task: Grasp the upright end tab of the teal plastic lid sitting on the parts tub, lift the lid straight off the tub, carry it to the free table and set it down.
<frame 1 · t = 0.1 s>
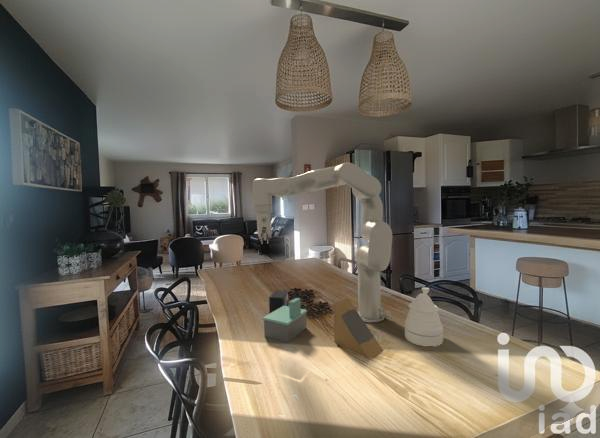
hand: (264, 251, 115), 31 cm above the table, tool pointing down, fingers open, 9 cm apart
honey pot: (423, 338, 104), on the table
sandwich container: (358, 347, 99), on the table
tub: (286, 333, 111), on the table
lid: (285, 315, 110), point 7 cm above the table, touching tub
dowel a: (290, 328, 113), point 1 cm above the table, touching tub
small box: (279, 316, 128), on the table
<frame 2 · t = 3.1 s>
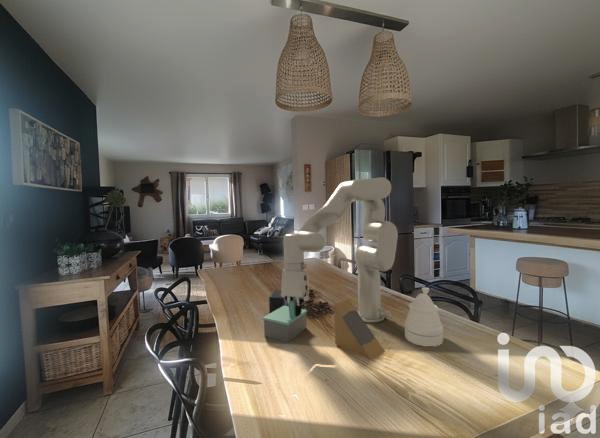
hand: (295, 313, 108), 8 cm above the table, tool pointing down, fingers closed on lid
lid: (285, 315, 110), point 7 cm above the table, touching gripper, tub
dowel a: (290, 326, 113), point 1 cm above the table, tilted 71°, touching tub
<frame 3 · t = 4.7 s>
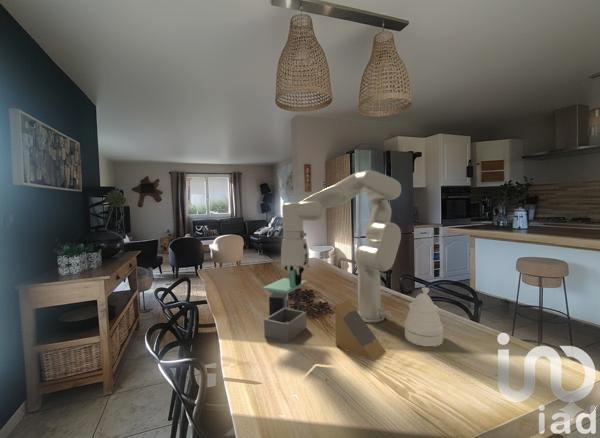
hand: (295, 283, 108), 20 cm above the table, tool pointing down, fingers closed on lid
lid: (285, 286, 110), point 19 cm above the table, touching gripper
dowel a: (290, 328, 113), point 1 cm above the table, tilted 11°, touching tub
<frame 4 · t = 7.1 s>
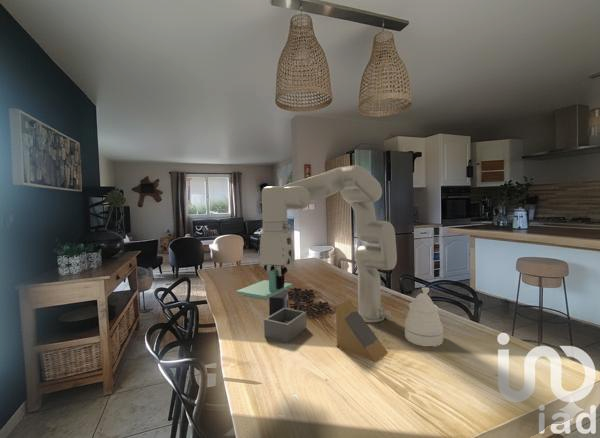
hand: (276, 287, 87), 25 cm above the table, tool pointing down, fingers closed on lid
lid: (265, 289, 89), point 23 cm above the table, touching gripper
dowel a: (290, 328, 113), point 1 cm above the table, tilted 40°, touching tub
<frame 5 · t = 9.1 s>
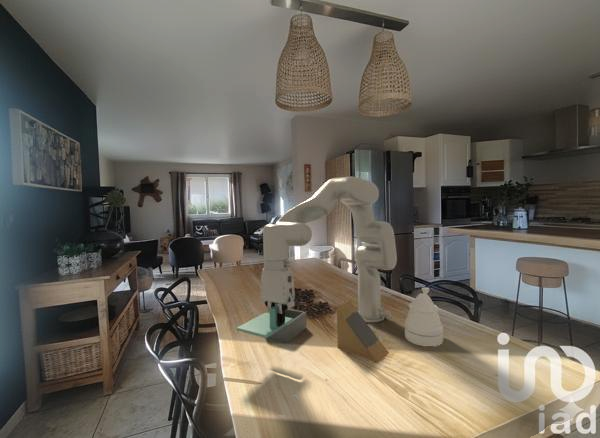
hand: (277, 323, 87), 13 cm above the table, tool pointing down, fingers closed on lid
lid: (265, 325, 90), point 12 cm above the table, touching gripper
dowel a: (290, 326, 113), point 1 cm above the table, tilted 66°, touching tub
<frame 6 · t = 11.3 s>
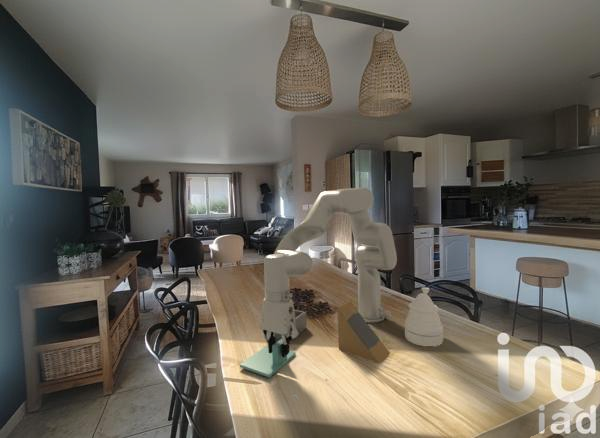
hand: (278, 352, 88), 4 cm above the table, tool pointing down, fingers open, 4 cm apart
lid: (268, 360, 90), point 1 cm above the table
dowel a: (290, 328, 113), point 1 cm above the table, touching tub
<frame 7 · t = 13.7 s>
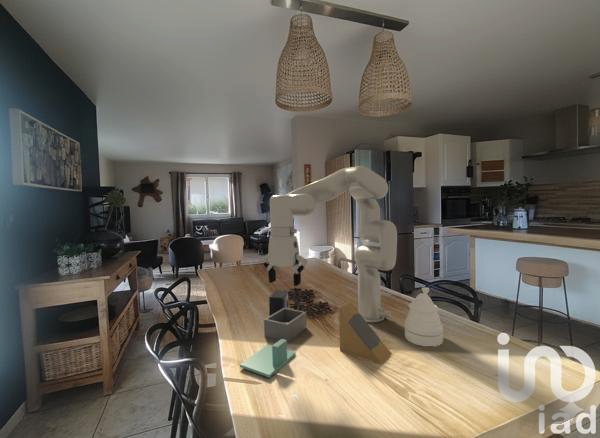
hand: (284, 283, 95), 24 cm above the table, tool pointing down, fingers open, 9 cm apart
dowel a: (290, 328, 113), point 1 cm above the table, tilted 11°, touching tub
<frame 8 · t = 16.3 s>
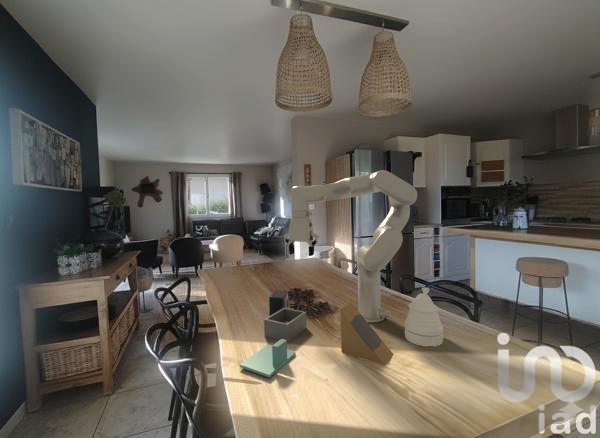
hand: (301, 254, 123), 28 cm above the table, tool pointing down, fingers open, 9 cm apart
at the end: lid inside the target area (0.4 cm from its centre), point 0.7 cm above the table; lid touching table; the gripper is holding nothing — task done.
